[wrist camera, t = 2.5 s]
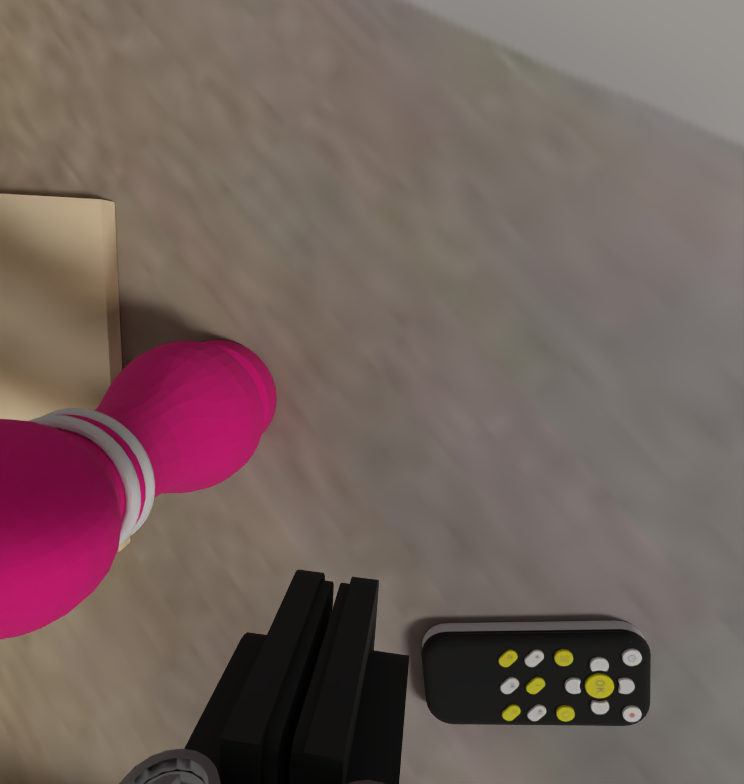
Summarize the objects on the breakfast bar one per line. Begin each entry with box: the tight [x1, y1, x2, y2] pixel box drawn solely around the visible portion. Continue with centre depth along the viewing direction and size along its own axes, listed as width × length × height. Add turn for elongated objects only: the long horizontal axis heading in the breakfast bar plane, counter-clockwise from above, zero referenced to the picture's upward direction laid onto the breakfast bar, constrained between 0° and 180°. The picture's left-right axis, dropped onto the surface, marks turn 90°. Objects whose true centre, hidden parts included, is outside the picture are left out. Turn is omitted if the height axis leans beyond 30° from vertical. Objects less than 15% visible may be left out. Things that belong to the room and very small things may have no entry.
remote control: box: [422, 620, 651, 726], centre depth 32 cm, size 6×13×2 cm, turn 96°
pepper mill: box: [0, 340, 276, 639], centre depth 21 cm, size 7×7×20 cm
